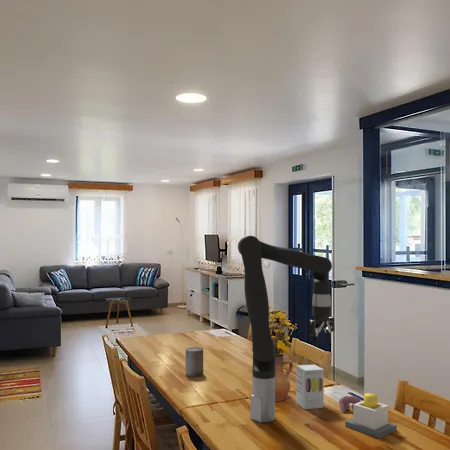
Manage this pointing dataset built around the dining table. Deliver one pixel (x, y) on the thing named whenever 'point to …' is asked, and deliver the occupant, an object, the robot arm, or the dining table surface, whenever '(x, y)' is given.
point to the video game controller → (346, 400)
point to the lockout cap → (370, 400)
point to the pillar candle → (194, 361)
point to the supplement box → (310, 386)
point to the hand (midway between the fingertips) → (321, 343)
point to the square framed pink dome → (371, 420)
